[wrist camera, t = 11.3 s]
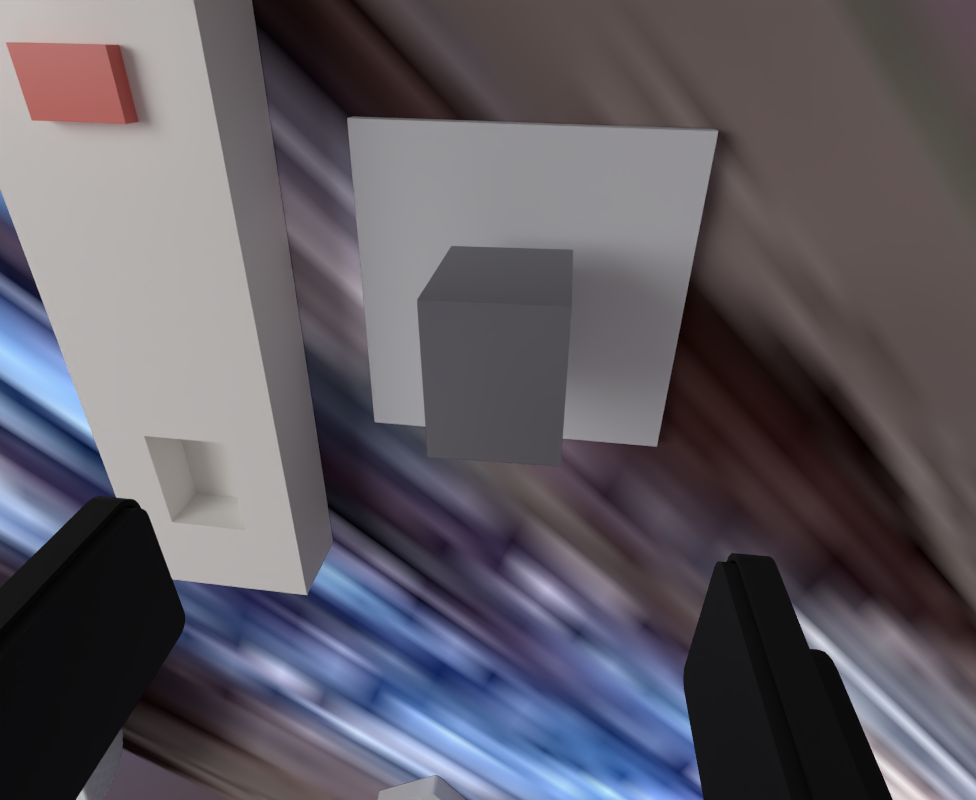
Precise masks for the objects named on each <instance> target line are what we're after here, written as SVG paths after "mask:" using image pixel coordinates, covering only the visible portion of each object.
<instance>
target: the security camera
mask: <svg viewBox="0 0 976 800" xmlns="http://www.w3.org/2000/svg"><path fill="white" fill-rule="evenodd" d="M378 800H466V799H465V798H464V797H462V796H461V795H460V794H459V793H458V792H456V791H455V790H454V789H453V788H452V787H451V786H449V785H448V784H447V783H446V782H445V781H444V780H442V779H441V778H440V777H439V776H431V777H427V778H424V779H420V780H416V781H413V782H409V783H406V784H402V785H399V786H395V787H392V788H388V789H385V790H381V791H380V792H379V796H378Z"/></svg>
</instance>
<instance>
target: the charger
mask: <svg viewBox="0 0 976 800" xmlns="http://www.w3.org/2000/svg"><path fill="white" fill-rule="evenodd" d="M572 276H573V250H566V249H534V248H503V247H471V246H451V247H450V249H449V250H448V252H447V253H446V255H445V257H444V258H443V260H442V261H441V263H440V264H439V266H438V268H437V269H436V271H435V272H434V274H433V276H432V277H431V279H430V280H429V282H428V283H427V285H426V287H425V288H424V290H423V291H422V293H421V294H420V296H419V298H418V299H417V310H418V325H419V339H420V354H421V369H422V383H423V398H424V413H425V427H426V442H427V457H434V458H448V459H462V460H476V461H490V462H504V463H518V464H531V465H545V466H559V467H561V456H562V441H563V427H564V412H565V398H566V383H567V369H568V354H569V340H570V325H571V311H572Z"/></svg>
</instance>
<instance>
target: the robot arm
mask: <svg viewBox="0 0 976 800" xmlns="http://www.w3.org/2000/svg"><path fill="white" fill-rule="evenodd" d="M184 624H185V613H184V610H183V607H182V605H181V602H180V599H179V597H178V594H177V591H176V588H175V586H174V583H173V580H172V578H171V575H170V572H169V569H168V567H167V564H166V561H165V559H164V556H163V553H162V550H161V548H160V545H159V542H158V540H157V537H156V534H155V532H154V529H153V526H152V523H151V521H150V518H149V515H148V513H147V512H146V511H145V510H144V509H141V507H140V505H139V503H138V502H137V501H135V500H134V499H126V498H114V497H103V496H98V497H95V498H92V499H91V500H90V501H88V502H87V503H86V504H85V505H84V506H83V507H82V508H81V509H80V510H79V511H78V512H77V513H76V514H75V515H74V516H73V517H72V518H71V519H70V520H69V521H68V522H67V523H66V524H65V525H64V526H63V527H62V528H61V529H60V530H59V531H58V532H57V533H56V534H55V535H54V536H53V537H52V538H51V539H50V540H49V541H48V542H47V543H46V544H45V545H43V546H42V547H41V548H40V549H39V550H38V551H37V552H36V553H35V554H34V555H33V556H32V557H31V558H30V559H29V560H28V561H27V562H26V563H25V564H24V565H23V566H22V567H21V568H20V569H19V570H18V571H17V572H16V573H15V574H14V575H13V576H12V577H11V578H10V579H9V580H8V581H7V582H6V583H5V584H4V585H3V586H2V587H1V588H0V800H76V799H77V797H78V796H79V794H80V792H81V791H82V789H83V788H84V786H85V785H86V783H87V781H88V780H89V778H90V777H91V775H92V774H93V772H94V770H95V769H96V767H97V766H98V764H99V763H100V761H101V759H102V758H103V756H104V755H105V753H106V752H107V750H108V748H109V747H110V745H111V744H112V742H113V741H114V739H115V737H116V736H117V734H118V733H119V731H120V730H121V728H122V727H123V725H124V723H125V722H126V720H127V719H128V717H129V716H130V714H131V712H132V711H133V709H134V708H135V706H136V705H137V703H138V701H139V700H140V698H141V697H142V695H143V694H144V692H145V690H146V689H147V687H148V686H149V684H150V683H151V681H152V679H153V678H154V676H155V675H156V673H157V672H158V670H159V668H160V667H161V665H162V664H163V662H164V661H165V659H166V657H167V656H168V654H169V653H170V651H171V650H172V648H173V646H174V645H175V643H176V642H177V640H178V639H179V637H180V635H181V633H182V631H183V628H184ZM684 692H685V697H686V703H687V709H688V714H689V720H690V725H691V731H692V736H693V742H694V748H695V753H696V759H697V764H698V770H699V775H700V781H701V787H702V792H703V798H704V800H893V799H892V797H891V795H890V792H889V790H888V788H887V785H886V783H885V781H884V778H883V776H882V773H881V771H880V769H879V766H878V764H877V762H876V759H875V757H874V755H873V752H872V750H871V748H870V745H869V743H868V741H867V738H866V736H865V733H864V731H863V729H862V726H861V724H860V722H859V719H858V717H857V715H856V712H855V710H854V708H853V705H852V703H851V701H850V698H849V696H848V693H847V691H846V689H845V686H844V684H843V682H842V679H841V677H840V675H839V672H838V670H837V668H836V666H835V664H834V663H833V661H832V659H831V658H830V657H829V656H828V655H827V654H826V653H825V652H823V651H820V650H815V649H809V647H808V644H807V641H806V639H805V636H804V634H803V631H802V629H801V626H800V624H799V621H798V619H797V616H796V614H795V611H794V608H793V606H792V603H791V601H790V598H789V596H788V593H787V591H786V588H785V586H784V583H783V581H782V578H781V575H780V573H779V570H778V568H777V565H776V563H775V562H774V560H773V559H772V558H771V557H768V556H757V555H746V554H735V553H732V554H731V555H730V556H729V557H728V560H727V562H717V563H716V565H715V567H714V571H713V574H712V577H711V581H710V584H709V587H708V591H707V594H706V597H705V601H704V604H703V607H702V611H701V614H700V617H699V621H698V624H697V627H696V631H695V634H694V637H693V640H692V644H691V647H690V650H689V654H688V657H687V660H686V664H685V668H684Z"/></svg>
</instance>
